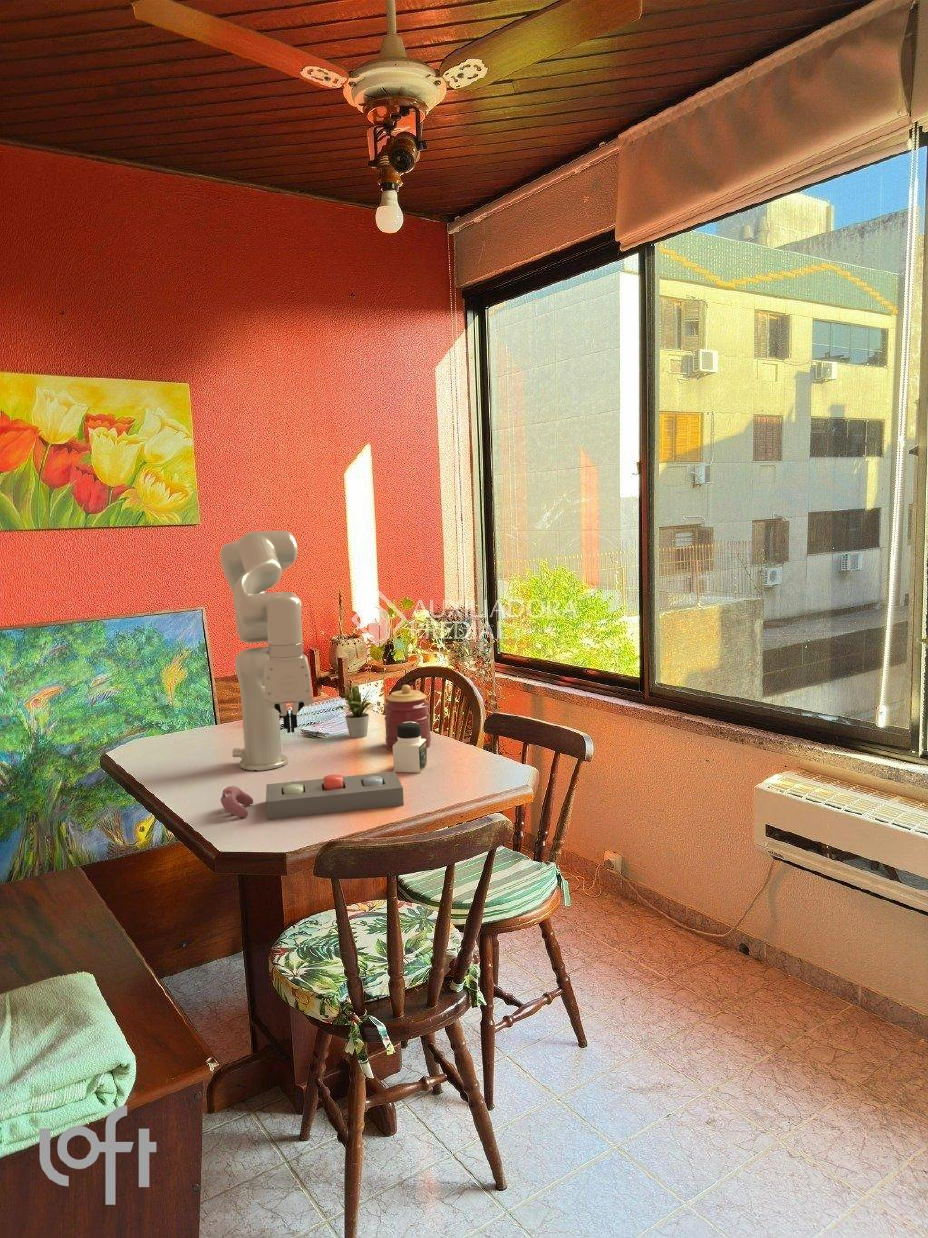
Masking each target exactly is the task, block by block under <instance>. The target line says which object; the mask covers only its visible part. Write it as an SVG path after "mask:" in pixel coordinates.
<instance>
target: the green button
mask: <svg viewBox="0 0 928 1238" xmlns="http://www.w3.org/2000/svg"><path fill="white" fill-rule="evenodd" d="M283 791H284V794H294V793H304V792H303V785H300V784H292V785H287V786H285V787H284V788H283Z"/></svg>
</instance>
